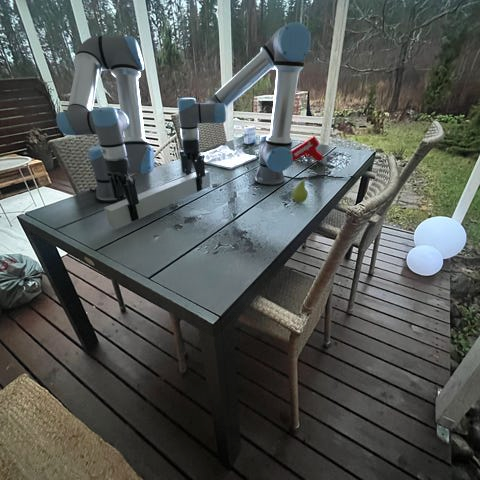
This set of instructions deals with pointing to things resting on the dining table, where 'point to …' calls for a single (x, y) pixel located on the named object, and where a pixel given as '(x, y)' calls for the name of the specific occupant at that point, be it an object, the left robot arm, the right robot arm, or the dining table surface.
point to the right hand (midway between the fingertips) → (195, 189)
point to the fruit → (300, 192)
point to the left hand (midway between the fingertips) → (130, 217)
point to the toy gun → (307, 150)
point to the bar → (155, 199)
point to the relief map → (227, 157)
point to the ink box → (249, 134)
